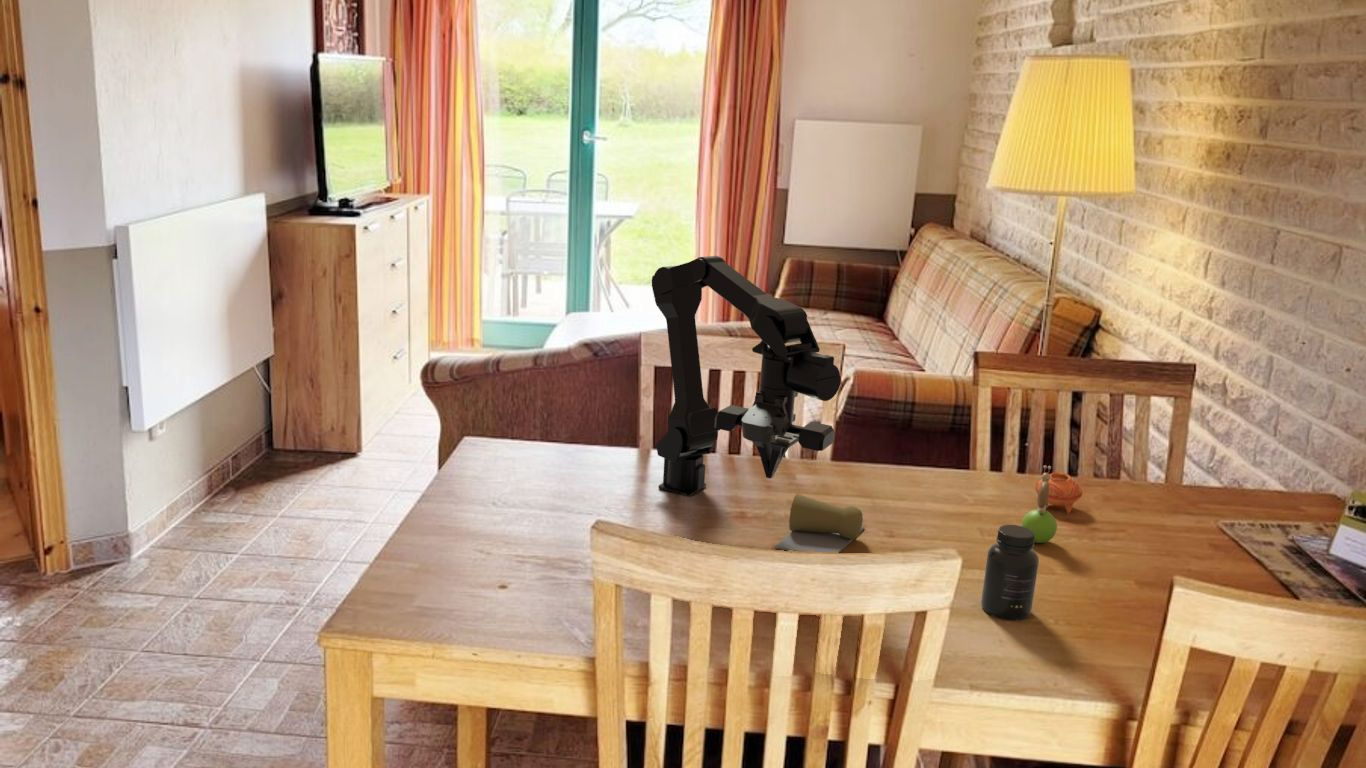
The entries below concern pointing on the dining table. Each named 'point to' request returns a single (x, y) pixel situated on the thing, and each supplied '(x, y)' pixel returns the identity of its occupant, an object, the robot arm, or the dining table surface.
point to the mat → (814, 541)
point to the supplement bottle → (1010, 574)
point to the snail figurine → (1041, 514)
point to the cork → (824, 517)
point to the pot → (1062, 490)
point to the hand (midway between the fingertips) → (769, 477)
